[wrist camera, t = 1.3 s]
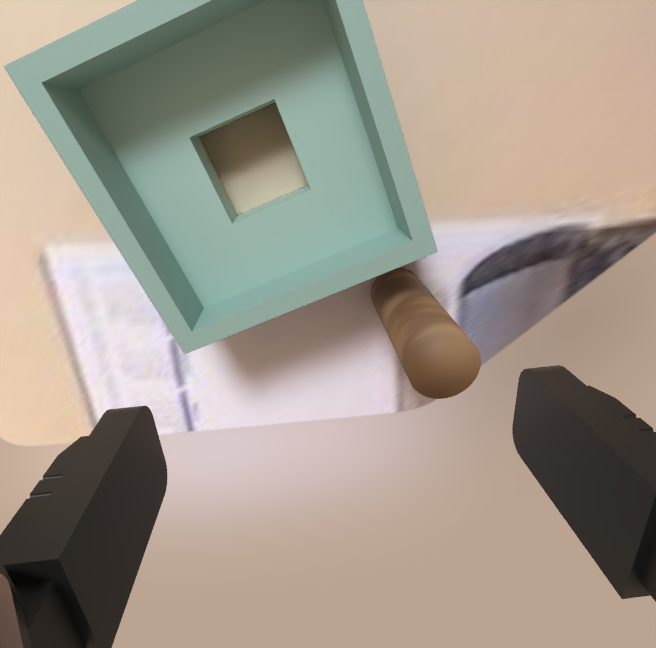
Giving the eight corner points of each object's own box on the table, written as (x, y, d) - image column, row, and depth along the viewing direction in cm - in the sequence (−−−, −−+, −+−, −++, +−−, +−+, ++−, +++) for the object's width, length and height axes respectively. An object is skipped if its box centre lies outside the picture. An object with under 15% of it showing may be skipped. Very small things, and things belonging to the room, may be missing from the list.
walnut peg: (412, 260, 33) (470, 323, 22) (426, 304, 35) (487, 383, 24) (364, 279, 34) (398, 351, 23) (380, 322, 35) (420, 408, 24)
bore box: (323, -40, 25) (333, -97, 19) (409, 228, 32) (437, 251, 26) (71, 81, 27) (3, 66, 21) (204, 312, 34) (184, 354, 27)
